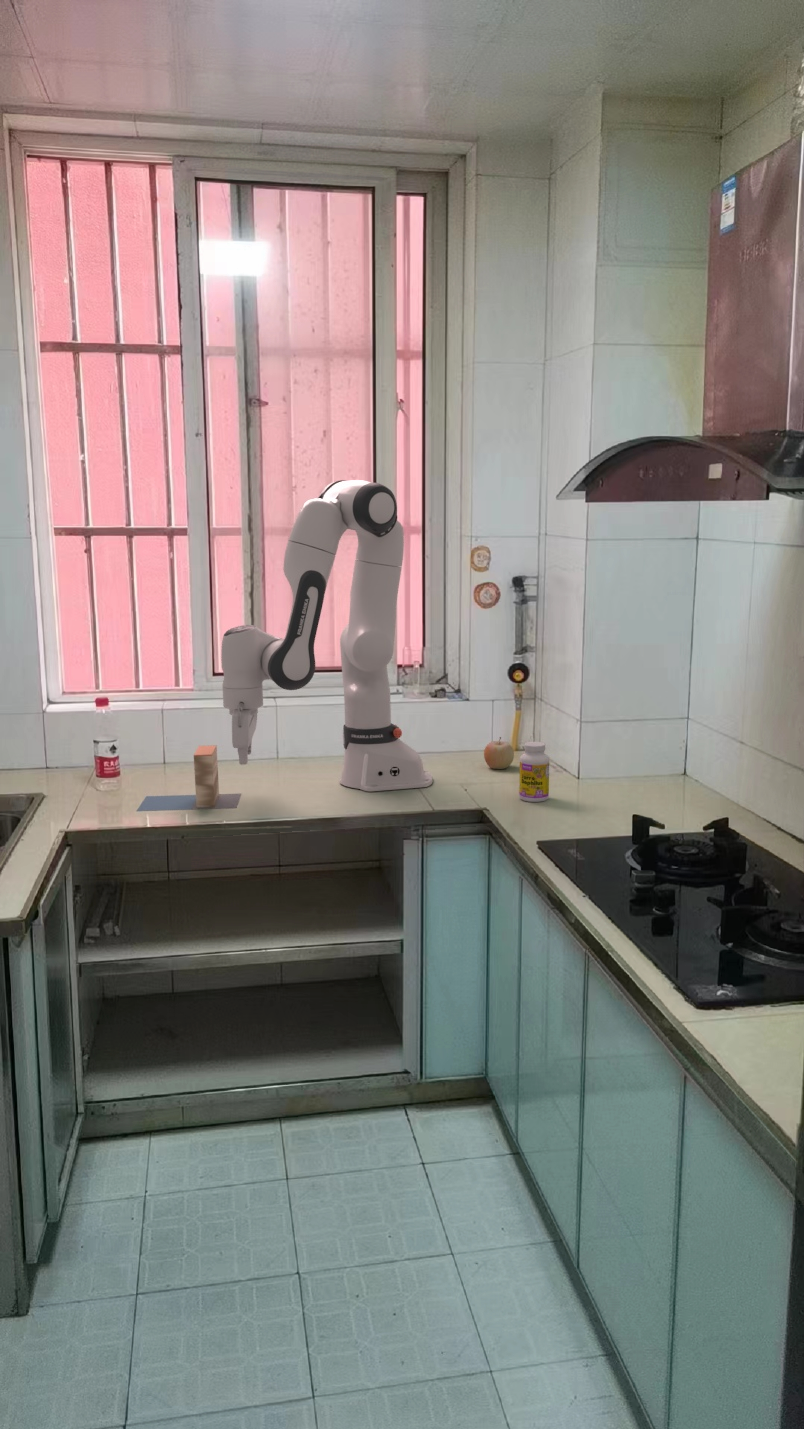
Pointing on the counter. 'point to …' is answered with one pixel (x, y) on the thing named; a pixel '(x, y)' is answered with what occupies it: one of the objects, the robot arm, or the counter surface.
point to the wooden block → (206, 776)
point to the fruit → (498, 754)
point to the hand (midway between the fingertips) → (245, 758)
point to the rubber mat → (186, 802)
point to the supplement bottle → (534, 773)
